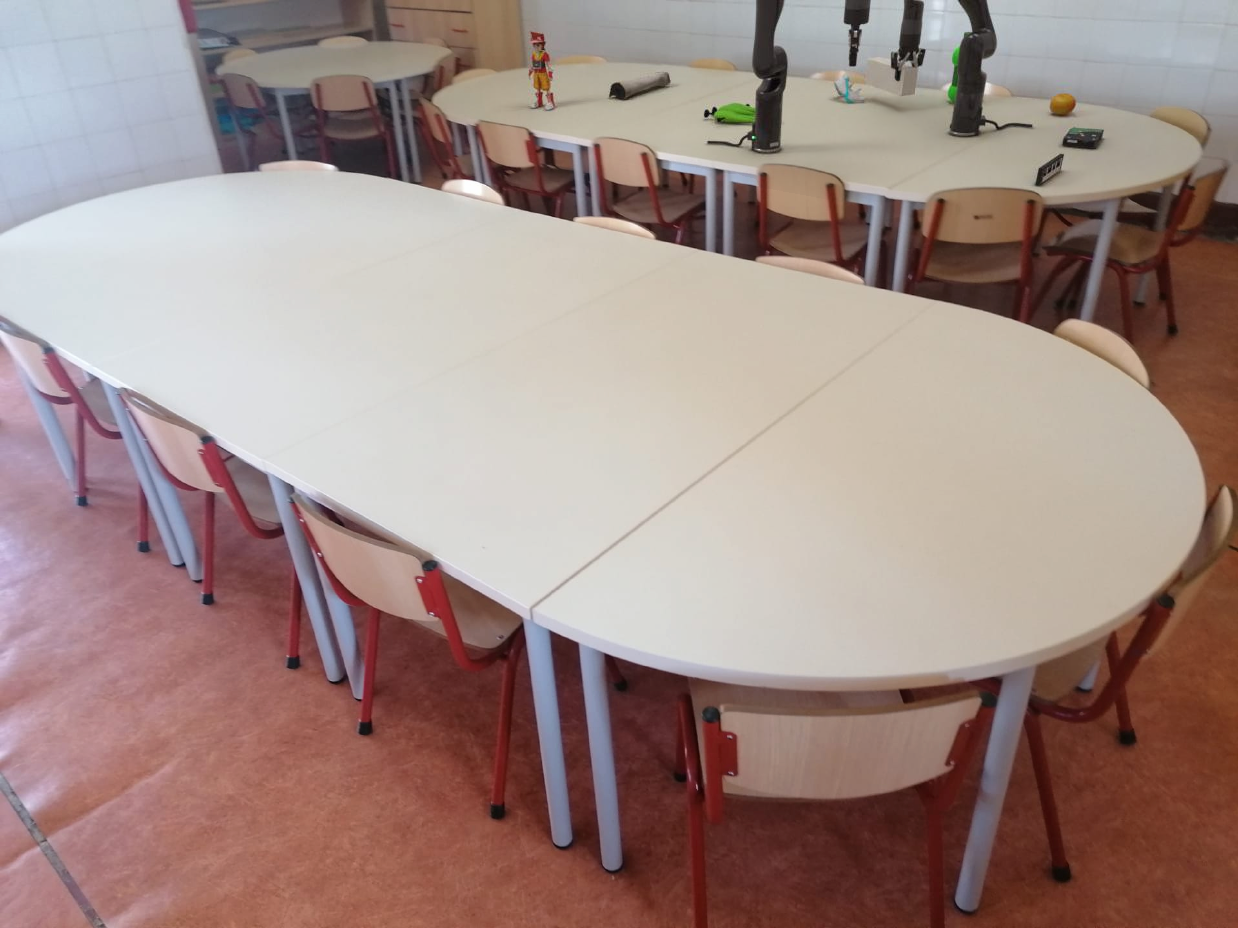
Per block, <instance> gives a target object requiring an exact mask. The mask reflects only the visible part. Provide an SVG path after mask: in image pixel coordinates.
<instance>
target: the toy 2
mask: <svg viewBox="0 0 1238 928" xmlns="http://www.w3.org/2000/svg"><path fill="white" fill-rule="evenodd" d="M710 116H713V118H714V119H715V120H716V123H721V122H724V123H751V124H752V122H753V121H755V107H752V106H751V104H750V103H746V104H743V103H740V102H739V103H737V102H732V103H729V104H725V105H722V106H720V107H719V108H717V107H716V106H713V107H712V109H711V111H710V110H709V109H707V108H706V109H704V112H703V117H704V118H705V119H707V118H708V117H710Z"/></svg>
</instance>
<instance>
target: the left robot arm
mask: <svg viewBox="0 0 1238 928" xmlns="http://www.w3.org/2000/svg"><path fill="white" fill-rule="evenodd" d="M785 1H786V0H755V25H754V27H755V28H754V39H753V49H752V56H751V57H752V58H751V68H752V71H753V74H754V75H755V76H756V78H758V79H760V80H762V81H761V83H760V84H759V86H758V87H757V88H756V90H755V99H754V103H755V105H754V108H755V115H754V116H755V121H753V122H752V123H751V130H750V131H748V132H747V134H745V135H743V136H742V137H741V138H740V140H739V142H738V143H733V142H729V141H726V140H725V141H723V140H707V141H706V143H707V145H708V144H709V145H727V146H730V147H735V148H738V147H740V146H742V144H743V142H744V140H745V139H747V141H750V142H751V149H750V150H751V151H754V152H757V153H761V154H772V153H777V152H779V151H781V148H782V145H781V144H782V143H781V141H782V124H783V123H782V122H783V103H784V101H783V100H784V92H785V90H786V86H787V78H788V68H789V67H788V65H789V59H788V54H787V52H786V50H785V48H783V47H782V46H780V45H775V34H776V29H777V26H778V23H779V21H780V19H781V16H782V12H783V10H784V6H785ZM871 1H872V0H844V12H843V24H845V25H848V26H850V29H848V33H847V35H848V48H849V51H848V66H849V67H853V68H854V67H857V63H858V61H857V60H858V53H859V51H860V49H859V47H860V46H861V38H862V35H863V28H860V27H861V25H866V24H868V23H869V21H870V13H871Z"/></svg>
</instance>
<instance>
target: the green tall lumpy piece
mask: <svg viewBox="0 0 1238 928" xmlns="http://www.w3.org/2000/svg"><path fill="white" fill-rule="evenodd" d="M969 33H972V31H965V32H964V33H963V38H964V37H965V36H966V35H967V34H969ZM959 48H960V45H959V46H957V47H956V48H955V49H954V51H953V52H952V57H951V61H952V65H953V71H952V80H951V84H950V86H949V88H948V90H947V97H948V99H949V100H950V101H951V103H953V104H954V103H955V96H956V90H957V83H958V74H957V65H958V56H959Z"/></svg>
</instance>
